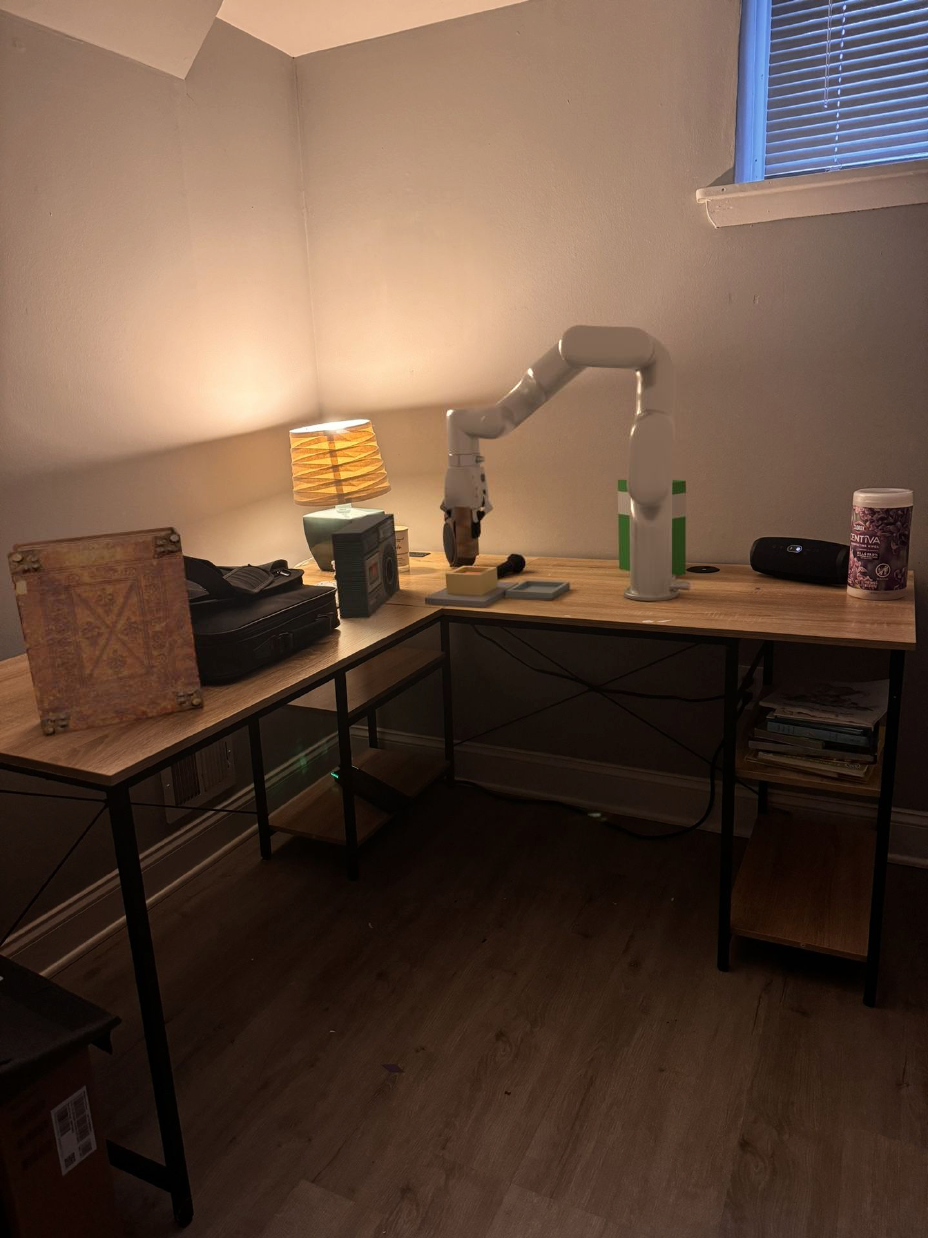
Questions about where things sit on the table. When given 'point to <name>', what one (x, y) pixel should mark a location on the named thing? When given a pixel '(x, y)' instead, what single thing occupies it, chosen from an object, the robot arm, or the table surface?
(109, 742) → the table surface
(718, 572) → the table surface
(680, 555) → the green white tall box
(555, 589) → the tray
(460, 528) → the rod
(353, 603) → the cassette player
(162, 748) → the table surface
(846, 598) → the table surface
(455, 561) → the alarm clock
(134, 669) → the book
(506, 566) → the microphone
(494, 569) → the yellow socket holder
